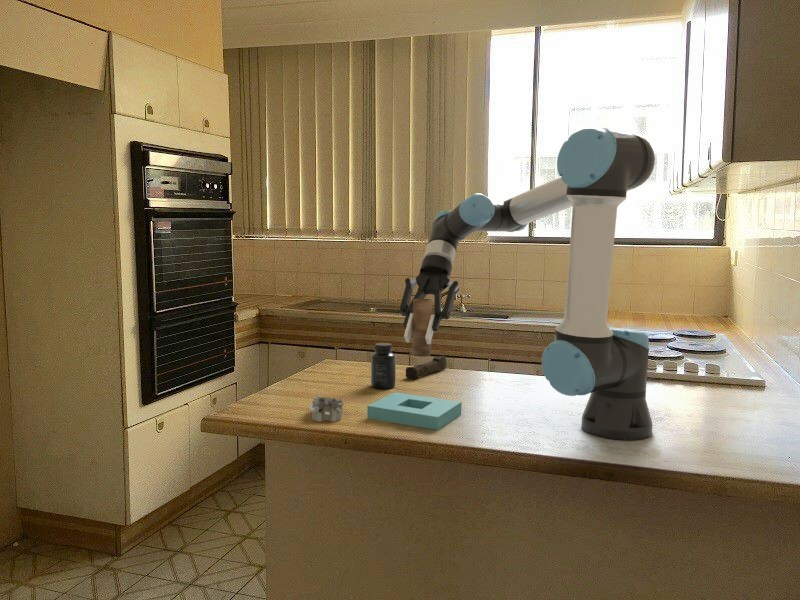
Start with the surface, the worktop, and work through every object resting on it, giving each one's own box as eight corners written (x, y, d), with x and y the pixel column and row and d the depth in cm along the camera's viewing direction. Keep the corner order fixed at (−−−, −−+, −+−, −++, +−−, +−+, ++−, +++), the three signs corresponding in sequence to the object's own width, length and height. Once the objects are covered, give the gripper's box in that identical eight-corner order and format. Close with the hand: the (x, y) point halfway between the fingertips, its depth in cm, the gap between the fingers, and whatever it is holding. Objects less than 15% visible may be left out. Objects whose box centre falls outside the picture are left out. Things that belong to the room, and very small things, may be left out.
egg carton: (341, 423, 153) (341, 406, 152) (308, 422, 153) (308, 405, 152) (345, 409, 163) (345, 393, 163) (314, 409, 163) (314, 393, 163)
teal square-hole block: (461, 414, 160) (461, 401, 160) (437, 430, 148) (438, 417, 147) (394, 403, 168) (395, 392, 168) (367, 418, 156) (367, 405, 155)
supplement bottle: (400, 386, 185) (401, 344, 184) (383, 390, 181) (383, 347, 179) (382, 382, 190) (383, 340, 189) (365, 386, 185) (366, 344, 184)
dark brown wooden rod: (415, 381, 193) (415, 365, 192) (404, 379, 195) (405, 363, 195) (453, 370, 207) (453, 356, 206) (442, 368, 210) (443, 354, 209)
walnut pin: (433, 354, 157) (435, 299, 155) (425, 357, 153) (427, 301, 152) (417, 351, 159) (418, 298, 157) (408, 355, 155) (410, 300, 154)
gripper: (473, 274, 166) (456, 352, 152) (407, 270, 171) (384, 346, 158) (470, 254, 160) (451, 333, 147) (401, 251, 165) (377, 327, 152)
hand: (417, 339), depth 152 cm, fingers closed on walnut pin, 4 cm apart
